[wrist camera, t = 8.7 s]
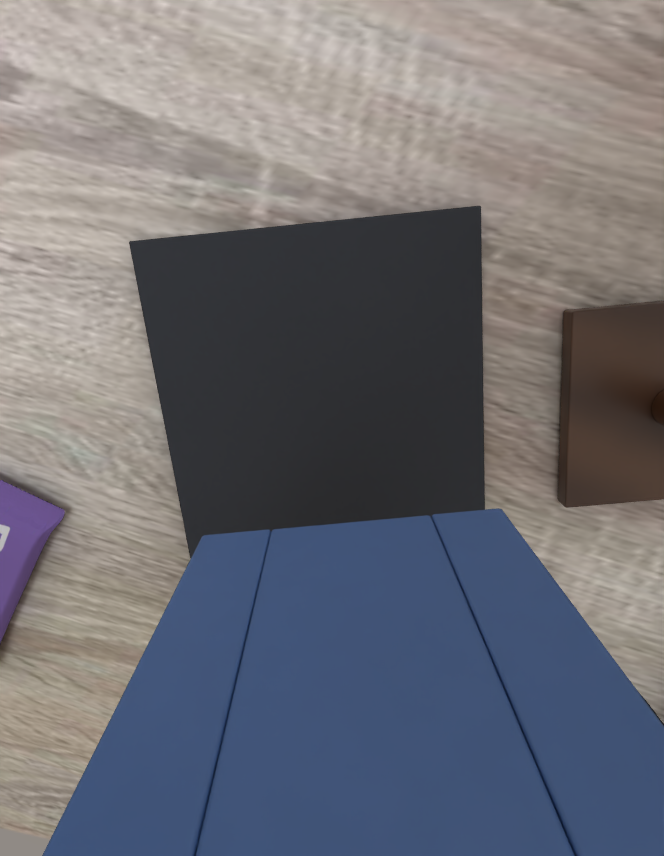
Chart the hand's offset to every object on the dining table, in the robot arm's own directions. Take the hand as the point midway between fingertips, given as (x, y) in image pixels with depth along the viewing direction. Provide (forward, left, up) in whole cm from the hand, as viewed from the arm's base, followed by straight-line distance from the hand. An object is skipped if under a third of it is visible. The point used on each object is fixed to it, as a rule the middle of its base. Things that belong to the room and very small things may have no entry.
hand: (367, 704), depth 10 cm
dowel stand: (0, +16, -18) cm, 24 cm away
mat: (0, -1, -18) cm, 18 cm away
